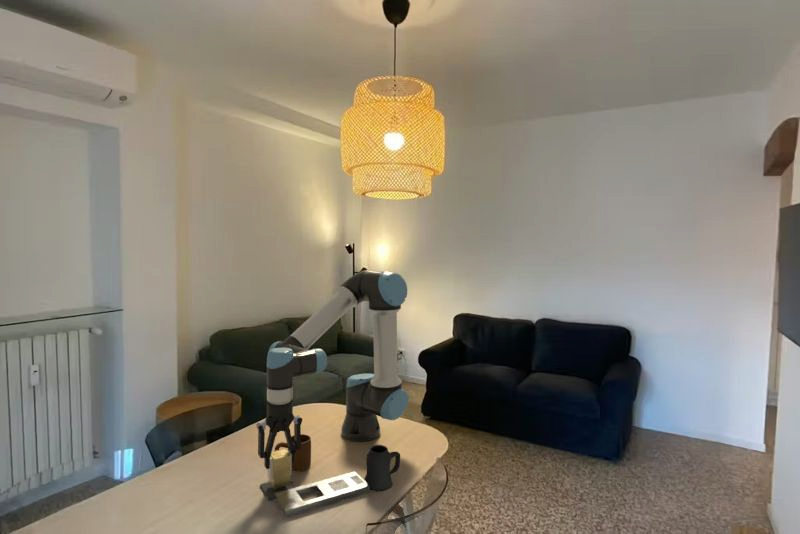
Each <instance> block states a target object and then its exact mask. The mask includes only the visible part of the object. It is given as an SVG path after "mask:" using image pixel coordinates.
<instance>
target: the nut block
mask: <svg viewBox="0 0 800 534" xmlns="http://www.w3.org/2000/svg"><path fill="white" fill-rule="evenodd" d="M286 449H287V448H284V449H279V450H278V451H275V450H274V451H272V452H271V457H272V458H273V480H270V479H269V478H268V482H270V484H271V485H272V487H273V488H274V489H276V488H280V487H283V486H287V485H290V479H291V475H290V454H289V453H288V452H287V451H288V450H286Z"/></svg>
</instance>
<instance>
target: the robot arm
mask: <svg viewBox="0 0 800 534" xmlns="http://www.w3.org/2000/svg"><path fill="white" fill-rule="evenodd" d="M407 297H408V285H407V282H406V280H405V279H404V277H403V276H402V275H400V274H399V273H397V272H392V271H387V270H373V269H365V270H362V271H359V272H357V273H355V274H354V275H352V276H350V277H348V279H346V280H345V281H344V282H342V283H341V284H340V285H339V286H338V287H337V290H336V293H335V294H333V296H331V297H330V298H329V299H328V300H327V301H326V302H325V303H324V304H323V305H322V306H321V307H320V308H318V309H317V310H316V311H315V312H314V313H313V314H312V315H311V316H310V317H309V318H307V319H306V321H305V320H304V322H303V323H302V324H301V325H300V326H299V327H298V328H297V329H296V330H294V331H293V333H292V334H290V335H289V336H288V337H287V338H286V339H284V340H279V341H276V342H273V343H272V344H271V345H270V346H269V348H268V351H267V357H266V384H267V385H266V400H267V402H266V417H265V420H264V421H262V422H261V423H260V422H258V423H256V429H257V431H258V433H257V455H258V456H259V458H260V459H264V461H263V462H264V463H263V464H264V468H265V469H266V470H267V477H268V480H269V479H270V480H273V458H272V457H271V452H273V448H274V445H275V441H276V437H277V435H278V433H280V432H283V434H284V437H285V440H286V443H287V444H288V448H289V451H288V450H286V451H287V452H288V453H289V454H290V476H292V471H293V470H292V463H293V462H294V457H295V453H296V450H300V448H301V434H302V431H301V426H302V422H303V418H302V417H301V416H300V415H294V414H293V413H294V412H293V410H294V409H293V408H294V407H293V405H294V402H293V398H294V396H293V395H294V391H293V390H294V389H293V387H294V379H296V378H300V377H305V376H308V375H316V374H317V373H321V372H324V371H325V369H326V368H327V365H328V356H327V354H326V352H325V351H324V350H323V349H322V348H312V349H310V348H311V346H313V345H314V344H315V343H316V341H318V340H319V339H320V338H321V337H322V336H323V335H324V334H325V333H326V332H327V331H328V330H329V329H330V328H331V327H333V325H334V324H336V322H338V320H340V319H341V318H342V317H343V315H345V314H346V313H347V312H348V311H349V310H350V309H351V308H355V307H357V306H358V305H360V303H363V302H368V310H369V311H370V312H371V313H372V318H373V319H372V321H373V322H372V323H373V327H372V328H373V329H372V330H373V371H374V372H373V373H359V374H353V375H350V376H348V378H347V380H346V386H345V389H346V390H345V392H346V393H345V395H346V397H345V398H346V401H345V402H346V403H345V405H346V407H345V409H346V410H345V412H346V413H345V417H344V419H343V422H342V425H341V431H340V433H341V436H342V437H343V438H344V439H347V440H348V441H354V442H367V441H371V440H372V441H373V440H375V439H377V438H378V437H379V436H380V435H381V426H380V423H379V419H378V417H380V418H381V419H384V420H388V421H396V420H398V419H400V418H401V417H402V415H404V413H405V411H406V410H407V408H408V405H409V398H410V397H409V394H408V393H407V391H406V390H405V389H404V388H402V387H403V382H402V381H403V380H402V379H401V378H400V377H399V376H398V320H397V319H398V312H399V311H400V310H401V309H402V305H403V304H404V302H406V299H407ZM292 422H293V436H294V445H293V441H292V437H291V436H292V434H291V430H290V426H291V424H292ZM267 426H268V428H269V431H268V432H269V433H268V437H267V440H266V439H265V437H266V435H265V430H266V429H267V428H266V427H267ZM265 441H266V442H265ZM265 443H266V445H265ZM288 448H287V449H288Z"/></svg>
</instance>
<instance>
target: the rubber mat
mask: <svg viewBox="0 0 800 534" xmlns="http://www.w3.org/2000/svg"><path fill="white" fill-rule="evenodd" d="M259 486H260V489H261V490H262V491H263V493H264V495H265V497H266V498H267V500H268V501H272V500H275V493H278V492H281V491H285V490H289V489H292V488H296V487H297V486H296V484H295V483H294V482H293V480H292V479H291V478H290V485H287V486H283V487H280V488H276V489H274V488H273V487H272V485H271V484H270V482H269V481H268V482H263V483H261V484H260V485H259Z"/></svg>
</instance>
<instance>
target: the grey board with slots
mask: <svg viewBox="0 0 800 534" xmlns="http://www.w3.org/2000/svg"><path fill="white" fill-rule="evenodd" d="M370 492H371V491H370V485H369V484H368V483H367V482H365V481H364V479H363V477H362V476H361V475H359V474H358V472H356V471H351V472H348V473H344V474H340V475H336V476H333V477H329V478H325V479H322V480H318V481H315V482H314V481H313V482H312V483H308V484H304V485H300V486H296V488H292V489H289V490H285V491H281V492H278V493H275V499H274V502H275V503H276V505H277V506H278V508H279V510H280V511H281V513H282V515H283V516H284V517H285V519H286V518H290V517H293V516H297V515H299V514H304V513H307V512H309V511H313V510H317V509H319V508H322V507H326V506H328V505H333V504H334V503H335V504H336V503H338V502H342V501H345V500H348V499H352V498H355V497H359V496H361V495H364V494H367V493H370ZM312 493H313V494H314V493H316V494H318V497H314V498H312V499H307V500H305V501H304V500H303V499H302V496H306V495H311V494H312Z"/></svg>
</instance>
